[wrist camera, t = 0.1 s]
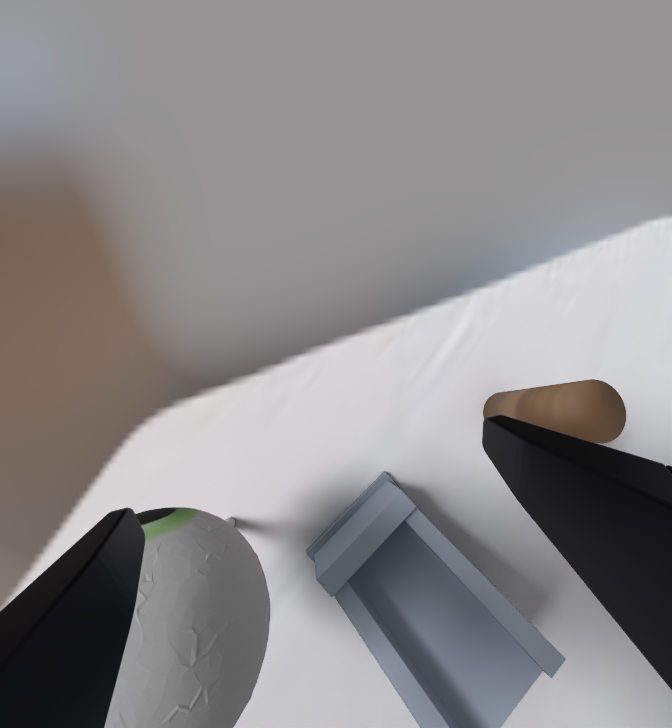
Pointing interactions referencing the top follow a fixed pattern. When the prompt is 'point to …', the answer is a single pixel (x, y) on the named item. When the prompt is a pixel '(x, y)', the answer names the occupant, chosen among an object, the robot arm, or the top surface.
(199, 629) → the lollipop
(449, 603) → the cradle
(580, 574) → the robot arm
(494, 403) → the peg
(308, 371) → the top surface
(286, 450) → the top surface
